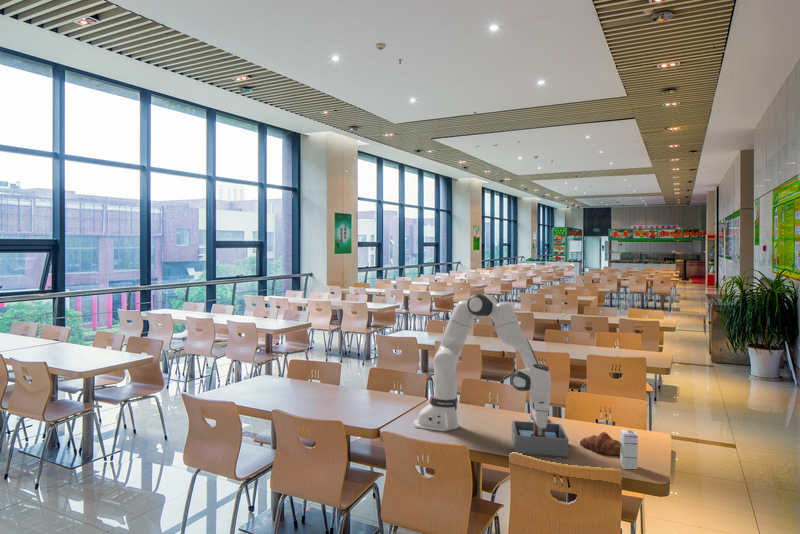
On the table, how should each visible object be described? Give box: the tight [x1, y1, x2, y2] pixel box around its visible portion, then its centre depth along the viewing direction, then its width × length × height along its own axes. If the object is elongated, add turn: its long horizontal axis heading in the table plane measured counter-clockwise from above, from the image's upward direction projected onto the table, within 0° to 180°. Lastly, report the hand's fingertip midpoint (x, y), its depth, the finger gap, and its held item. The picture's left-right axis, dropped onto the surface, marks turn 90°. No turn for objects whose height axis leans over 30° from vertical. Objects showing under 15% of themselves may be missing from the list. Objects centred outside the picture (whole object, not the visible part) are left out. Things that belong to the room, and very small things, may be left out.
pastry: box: [579, 431, 620, 457], centre depth 238 cm, size 17×15×8 cm
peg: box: [533, 421, 545, 437], centre depth 240 cm, size 4×4×7 cm
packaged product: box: [526, 410, 552, 423], centre depth 277 cm, size 18×5×10 cm
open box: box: [511, 420, 569, 459], centre depth 240 cm, size 22×22×8 cm
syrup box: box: [619, 429, 639, 470], centre depth 219 cm, size 6×6×14 cm
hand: (538, 432), depth 240 cm, fingers closed on peg, 4 cm apart
